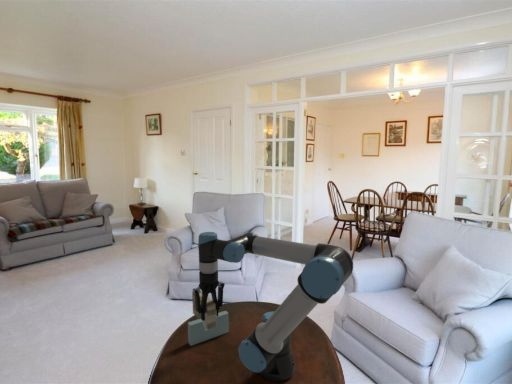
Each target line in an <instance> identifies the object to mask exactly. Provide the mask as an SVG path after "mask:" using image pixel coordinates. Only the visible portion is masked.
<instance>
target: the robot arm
mask: <svg viewBox="0 0 512 384" xmlns="http://www.w3.org/2000/svg"><path fill="white" fill-rule="evenodd" d="M197 239H198V241H197V246H198V268H199V269H198V270H199V273H198V275H199V276H198V277H199V279H198V280H199V284H198V286H197V287H196V288H193V289H192V292H194V295H195V306H196V311H197V312H198V313H201V317H200V319H201V320H202V321H203V326H204V327H205V329H207V312H206V311H205V310H206V303H207V297H208V298H209V294H211V295H210V296H211V300H212V301H213V302H214V303H215V306H216V325H217V316H218V313H219V310H220V308H221V307H223V306H224V304H223V303H224V288H225V285H226V284H225V282H223V281H219V263H218V261H219V260H220V261H225V262H228V263H234V264H235V263H236V264H238V263H241V261H242V260H243V259H244V257H245V255H246V254H250V255H251V254H252V255H258V256H262V257H268V258H272V259H276V260H280V261H285V262H291V263H297V264H299V265H300V264H301V265H304V267H303V268H302V271H301V273H300V274H298V277H297V279H296V280H297V284H296V286H295V287H294V288H293V289H292V291H291V292H290V293H289V294H288V295H287V296H286V298H285V299H284V300H283V301H282V303H280V305H279V306H278V307H277V308H276V310H275V311H268V312H265V313H264V314H263V315H262V319H261V320H262V322H260V323H258V324H257V326H255V328H254V329H253V330H252V331H251V332H250V333H249V335H247V337H246V338H245V339H243V340H241V343H239V346H238V355H239V359H240V361H241V363H242V364H243V365H244V367H246V369H248V370H249V371H250V372H253V373H257V374H258V373H259V374H260V375H261V377H263V378H265V379H267V380H269V381H272V382H284V381H287V380H289V379H290V378H292V377H293V376H294V374H295V371H296V362H295V359H294V357H293V354H292V332H293V331H294V330H295V329H296V328H297V327H298V326H299V325H300V323H302V322H303V321H304V319H305V318H306V317H307V316H308V315H309V314H310V313H311V312H312V311H313V310H314V309H315V308H316V306H317V305H318V304H319V305H320V304H321V305H322V304H323V305H324V304H325V303H327V302H328V301H329V300H330V299H331V298H332V297H333V296H335V295H336V294H337V293H338V292H339V291H340V290H341V288H342V286H343V285H344V283H345V282H346V281H347V280H348V279H349V277H350V276H351V275H352V274H353V271H354V260H353V257H352V256H351V254H350V253H349V252H348V251H347V250H346V249H345V248H343V247H341V246H338V245H333V244H326V243H320V242H319V243H317V244H315V245H314V244H309V243H304V242H303V243H302V242H295V241H291V240H283V239H277V238H271V237H265V236H259V235H258V234H257V233H256V232H246V233H244V234H242V235H239V236H237V237H234V238H231V239H228V240H224V239H220V238H219V237H218V233H217V232H214V231H204V232H200V233H199V235H198V238H197ZM200 290H201V291H202V300H201V305H200V295H199V293H200Z"/></svg>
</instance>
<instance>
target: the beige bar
mask: <svg viewBox="0 0 512 384" xmlns="http://www.w3.org/2000/svg"><path fill="white" fill-rule="evenodd" d="M191 293H192V296H191V297H192V313H193V314H192V315H194V316H195V317H196V318H197V319H201V313H198V312H197V311H196V306H195V295H194V292H193V291H192V292H191ZM199 295H200V305H201V300H202V290H201V289H200V293H199ZM205 311H206V312H207V329H211V328H214V327H216V306H215V303H214V302H213V300H212V298H210V297H209V296H208V297H207V303H206V310H205ZM202 322H203V321H202Z"/></svg>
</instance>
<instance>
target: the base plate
mask: <svg viewBox="0 0 512 384" xmlns="http://www.w3.org/2000/svg"><path fill="white" fill-rule="evenodd" d="M229 320H230V315H229V312H228V311H227V310H224V311H220V312H218V316H217V325H216V327H214V328H211V329H205V327H204V326H203V322H202V320H201V318H197V319H195V320H192V321H188V322H187V343H188V345H189V346H190V347H192V346H194V345H198V344H200V343H203V342H206V341H208V340H212V339H213V338H214V339H215V338H216V337H220V336H222V335H225V334H228V333H230V329H229V328H230V321H229Z"/></svg>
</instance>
